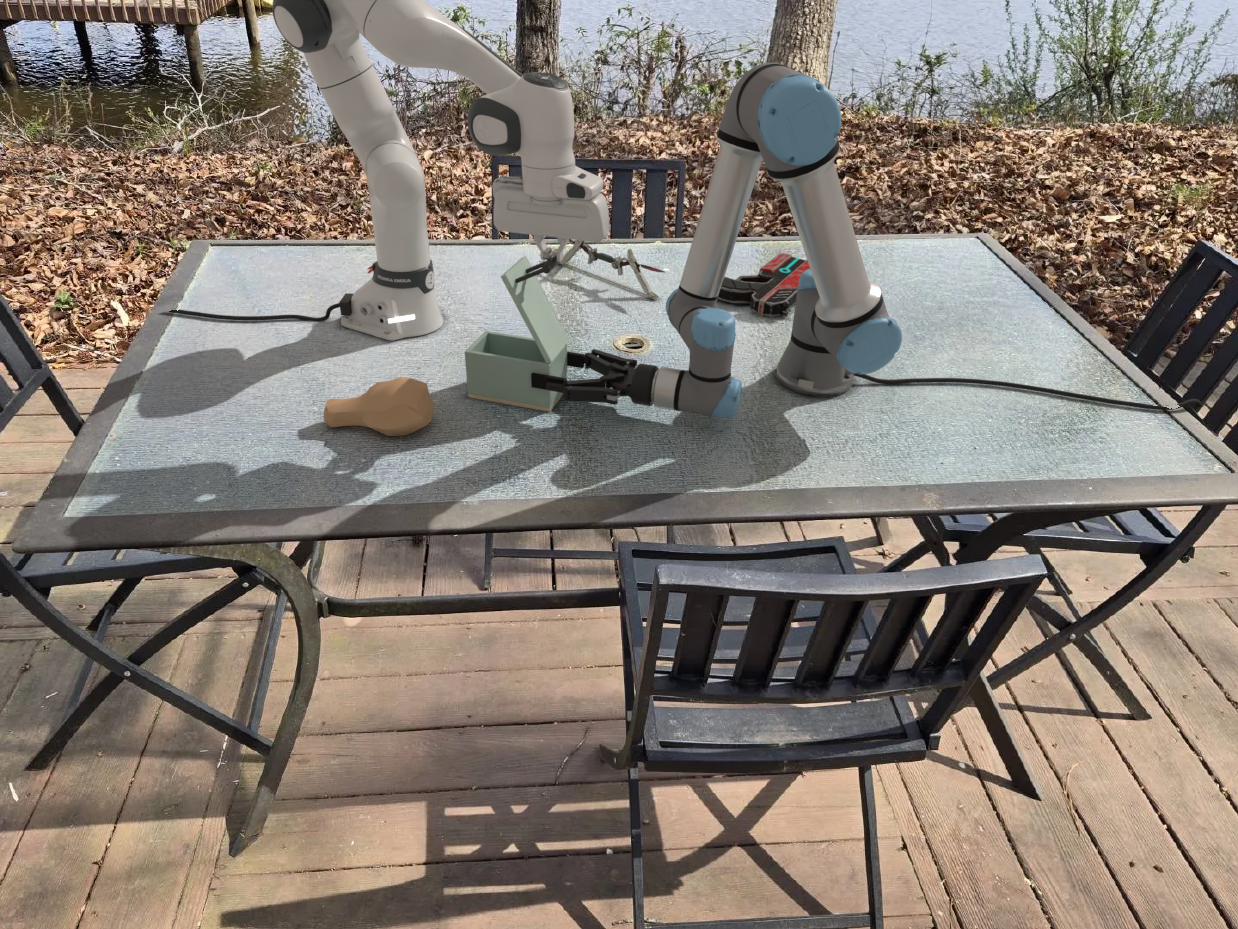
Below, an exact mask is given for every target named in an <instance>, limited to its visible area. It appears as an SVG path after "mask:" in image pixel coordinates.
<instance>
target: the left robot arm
mask: <svg viewBox="0 0 1238 929" xmlns="http://www.w3.org/2000/svg"><path fill="white" fill-rule="evenodd" d="M272 17H273V20H274V23H275V26H276V27H277V29H278V31H279V33H280V34H281V36H282V37H283V39H284V41H286V42H287V43H288V44H289V45H290V46H291V47H292V48H294V49H296V50H297V51H299V52H300V53H303V56H304V58H305V61H306V63H307V66H308V69H309V70H310V72H311V75H312V77H313V79H314V81H315V83H316V86H317V87H318V89H319V91H320V93H321V95H322V97H323V98H324V101H325V102H326V104H327V106H328V109H329V110H330V112H331V115H332V116H333V118H334V120H335V121H336V123H337V125H338V127H339V129H340V130H341V132H342V134H343V135H344V137H345V139H346V140H347V142H348V144H349V145H350V147H351V148H352V150H353V152H354V154H355V155H356V157H357V159H358V161H359V162H360V165H361V166H362V169H363V171H364V174H365V177H366V183H367V189H368V196H369V197H368V198H369V204H370V214H371V221H372V222H371V223H372V230H373V238H374V245H375V246H374V247H375V253H376V254H375V255H376V261H374V262H373V263H372V265H371V266H369V267H368V268H367V274H370V273H372V277H371V278H370V279H369V280H367V282H365V283H364V284H363V285H362V286H360V287H359V288H358V289H356V290H355V292H354V293H347V292H345V293H344V295H343V296H342V298H341V299H340V301H338V303H334V304H332V305H330V306H329V307H328V308H327V309H326V311H325V315H324V316H321V317H312V316H307V315H301V314H276V315H274V314H273V315H225V314H214V313H208V312H201V311H193V310H187V309H186V310H185V309H179V310H178V311H177V310H171V311H169V312H168V313H171V314H179V315H185V316H193V317H201V318H207V319H215V320H225V321H227V320H228V321H274V320H276V321H277V320H302V321H307V322H324V321H327V320H329V319H330V317H331V313H332V311H333V310H335V309H339V311H340V316H342V317H341V320H340V324H341V326H342V327H344V328H347V329H350V330H354V331H357V332H360V333H364V334H367V335H370V336H373V337H377V338H380V339H383V340H387V341H396V340H397V341H398V340H401V339H404V338H412V337H420V336H423V335H427V334H430V333H431V334H432V333H434V332H436V331H437V330H439V329H441V327H442V326H443V325H444V323H445V320H444V317H443V314H442V312H441V310H440V307H439V303H438V300H437V296H436V291H435V271H434V264H433V260H432V259H431V253H430V243H429V232H428V217H427V215H428V212H427V194H426V192H427V191H426V180H425V178H426V177H425V173H424V170H423V167H422V165H421V162H420V160H419V158H418V155H417V153H416V150H415V149H414V147H413V145H412V142H411V140H410V139H409V136H408V134H407V132H406V130H405V128H404V127H403V124H402V122H401V120H400V118H399V116H398V114H397V112H396V110H395V108H394V105H393V104H392V102H391V100H390V97H389V95H388V93H387V92H386V89H385V87H384V85H383V83H382V81H381V79H380V77H379V75H378V73H377V71H376V69H375V66H374V64H373V62H372V61H371V58H370V57H369V54H368V52H367V50H366V49H365V47H364V46H363V43H362V41H361V38H360V35H361V36H362V37H363V38H364V39H365V40H366V41H367V42H369V44H370V45H372V47H373V48H375V50H377V51H378V52H379V53H380V54H381V55H383V56H384V57H386V58H387V59H389V60H390V61H391V62H394V63H395V64H396V65H399V66H401V67H406V68H417V69H418V68H420V69H437V70H444V71H449V72H453V73H456V74H459V75H461V76H462V77H465V78H466V79H467V80H469V81H470V82H471V83H473V84H474V85H475V86H476V87H477V88H479V89H480V90H481V91H482V92H484V93H485V94H484V95H482V96H481V97H479V98H476V99H475V100H474V101H473V102H472V103H471V105H470V106H469V109H468V113H467V129H468V130H467V131H468V133H469V136H470V138H471V140H472V142H473V144H474V145H475V146H476V147H477V148H478V149H479V150H480V151H481V152H482V153H484V154H486V155H488V156H507V155H514V154H515V155H518V156H519V157H520V160H521V176H508V175H499V177H497V178H495V179H494V180H493V182H492V185H491V186H492V196H493V198H494V201H493V226H494V227H495V228H496V230H497V231H498V232H503V233H514V234H522V235H523V234H524V235H532V236H533V242H534V243H535V245H536V246H537V248H538V250H539V251H540V260H542V261H547V260H550V259H552V261H557V262H561V261H562V260H563V257H564V250H565V248H566V246H567V245H568V243H569V239H571V240H574V241H576V240H583V241H584V242H585V241H586V242H594V243H601V242H602V241H604V239H605V238H607V237H608V235H609V233H610V212H609V207H608V202H607V199H606V197H605V195H604V194H603V193H601V192H602V190H603V189H604V179H603V178H602V177H601V176H598V175H596V174H594V173H592V172H590V171H587V170H584V169H583V168H580V167H579V166H577V165H576V158H575V157H576V156H575V154H574V150H573V143H574V139H575V138H574V137H575V133H576V132H575V112H574V103H573V96H572V92H571V89H570V87H569V85H568V83H567V81H566V80H564V79H563V78H562V77H561V76H558V75H556V74H553V73H549V72H540V71H531V72H527V73H524V74H523V73H522V72H520V71H519V70H517V69H516V68H515V67H513V65H511V64H510V63H509V62H508V61H506V60H505V59H503V58H502V57H501V56H500V55H499V54H497V52H496V51H493V49H492V48H490V47H488V46H487V44H485V43H484V42H482V41H481V40H480V39H478V38H477V37H476V36H474V35H473V34H472V33H470V32H469V31H468V30H467V29H465V28H463V27H462V26H460V25H459V24H457V23H455V22H454V21H453V20H452V19H450V18H448V17H447V16H445V15H444V14H442V13H441V12H440V11H438V10H437V9H436V8H435V7H433V6H432V5H431V4H430V3H428V2H427V1H426V0H272ZM546 237H550V238H556V242H557V244H559V246H558V248H554V249H553V248H552V247H548V245H547V243H546V241H545V240H544V239H545V238H546Z"/></svg>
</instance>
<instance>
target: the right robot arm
mask: <svg viewBox="0 0 1238 929" xmlns="http://www.w3.org/2000/svg"><path fill="white" fill-rule="evenodd" d="M832 92H833V91H831V90H830V89H829V88H828V87H827V86H825V84H824V83H823V82H822V81H820V80H819V79H817V78H816V77H813V76H812V75H808V74H804V73H801V72H800V71H798V70H795V69H792V67H790V66H788V65H786V64H783V63H780V62H764V63H760V64H757V65H756V66H753V67H751V68H750V69H748V70H747V71H745V73H744V74H743V75H742V76H741V77H740V78H739V79H738V81H737V82H736V83H735V85H734V87H733V89H732V91H731V92H730V94H729V97H728V100H727V102H726V105H725V107H724V111H723V114H722V117H721V120H720V124H719V127H718V130H717V134H716V136H715V137H716V140H717V143H718V145H719V147H718V148H719V149H718V151H717V155H716V159H715V163H714V166H713V169H712V172H711V175H710V180H709V182H708V187H707V189H706V193H705V196H704V200H703V204H702V207H701V210H700V213H699V217H698V220H697V224H696V228H695V231H694V233H693V237H692V241H691V245H690V248H689V251H688V255H687V258H686V262H685V265H684V268H683V273H682V275H681V277H680V278H681V279H680V282H679V286H678V287H677V288H675V290H673V291H672V292H671V294H669V296H667V299H666V302H665V312H666V314H667V318H668V320H669V322H670V324H671V326H672V327H673V328H674V329H675V330H676V332H677V333H678V335H679V336H680V338H681V339H682V341H683V342H684V344H685V345H686V347H687V349H688V350H689V360H688V361H689V362H688V363H689V365H688V370H686V369H685V370H684V369H681V368H673V367H666V366H661V367H660V368H659V367H658V366H657V365H654V364H647V363H639V364H638V360H637V359H633V358H625V357H623V356H619V355H616V354H613V353H609V352H606V351H603V350H599V349H595V348H593V349H591V352H586V353H579V352H573V351H568V350H567V367H572V368H579V369H585V370H589V369H590V370H592V371H594V372H596V373H599V374H600V375H601V376H600V377H599V378H589V379H588V378H587V379H575V380H568V377H567V378H562V377H556V376H550V375H544V374H538V373H532V374H531V387H533V388H539V389H545V390H549V391H555V392H561V393H563V401H565V402H578V403H579V402H580V403H581V402H583V403H605V404H610V405H614V406H615V405H617V404H618V403H619V398H620V397H629V398H630V399H631V402H632V403H633V404H635V405H639V406H647V407H651V406H654V408H657V409H658V408H659V409H666V410H668V411H677V412H681V413H687V414H693V415H698V416H703V417H708V418H710V419H720V420H723V419H725V420H726V419H727V420H730V419H731V420H732V419H734V418H735V416H736V415H737V413H738V410H739V408H740V407H739V406H740V402H741V397H742V391H743V390H742V386H743V384H742V381H741V380H740V379H739V378H736V377H733V376H732V362H733V356H734V348H735V347H734V346H735V341H736V336H737V334H736V318H735V316H734V315H733V314H732V313H731V312H730V311H726V310H724V309H722V308H717V307H716V306H717V303H718V300H719V299H718V295H719V292H720V288H721V285H722V282H723V279H724V276H725V275H726V273H727V269H728V267H729V264H730V261H731V257H732V254H733V251H734V249H735V245H736V243H737V240H738V236H739V233H740V230H741V227H742V224H743V221H744V217H745V215H746V211H747V208H748V205H749V203H750V200H751V196H752V193H753V190H754V186H755V184H756V182H757V178H758V174H759V172H760V169H761V167H762V166H761V165H762V162H763V164H764V167H765V169H766V173H767V175H768V177H769V178H770V179H771V180H774V181H776V182H780V184H781V187H782V189H783V192H784V195H785V198H786V200H787V204H788V207H789V210H790V212H791V216H792V219H793V222H794V225H795V227H796V230H797V233H798V237H799V239H800V243H801V246H802V248H803V252H804V255H805V257H806V260H808V263H809V266H810V269H808V270H806V271H804V272H803V273H802V274H801V276H800V280H799V284H798V287H797V289H798V290H797V297H796V303H795V304H794V312H793V320H792V325H791V326H792V327H791V335H790V339H789V343H788V344H787V346H786V348H785V350H784V352H783V354H782V356H781V358H779V361H778V363H777V367H776V374H775V376H776V379H777V381H778V382H779V383H780V384H781V385H782V386H783V387H785V388H786V389H788V390H790V391H793V392H795V393H798V394H801V395H805V396H811V397H823V398H824V397H834V396H838V395H841V394H844V393H846V392H847V391H849V390H851V388H852V386H853V382H854V377H856V378H857V377H858V378H861V379H865V380H866V381H870V382H872V383H876V384H883V385H899V384H900V385H901V384H916V383H917V384H920V383H921V384H923V383H927V384H928V383H957V384H958V383H959V384H961V383H962V384H978V385H987V386H988V385H989V386H996V387H997V386H998V387H1008V388H1016V389H1022V390H1028V391H1033V392H1041V393H1046V394H1052V395H1056V396H1057V395H1058V396H1062V397H1063V396H1064V397H1069V398H1074V399H1081V400H1087V401H1093V402H1099V403H1104V404H1110V405H1116V406H1117V405H1118V406H1124V407H1125V406H1126V407H1132V408H1139V409H1147V410H1157V411H1173V410H1177V409H1181V408H1184V407H1187V406H1188V405H1192V404H1195V406H1197V407H1199V408H1204V405H1203V403H1202V402H1201V401H1200V400H1199V399H1196V398H1190V399H1187V400H1184V401H1182V402H1179V403H1176V404H1177V405H1179V406H1180V407H1178V408H1176V409H1172V408H1171V409H1169V408H1167V407H1160V406H1153V405H1154V404H1149V403H1142V402H1135V401H1129V400H1128V401H1127V400H1120V399H1113V398H1106V397H1100V396H1095V395H1088V394H1082V393H1075V392H1071V391H1066V390H1059V389H1053V388H1048V387H1043V386H1035V385H1028V384H1023V383H1017V382H1008V381H1001V380H1000V381H999V380H991V379H981V378H980V379H979V378H963V377H962V378H961V377H921V378H920V377H918V378H915V377H914V378H913V377H912V378H897V379H884V378H877V377H874V376H871V375H869V374H872V373H876V372H878V371H879V370H881V369H883V368H884V367H886V366H887V365H888V364H889V363H890V362H891V361H892V360H893V359H894V358H895V355H896V354H897V353H898V352H899V351H900V348H901V345H902V341H903V333H902V332H903V331H902V330H901V327H900V325H899V323H898V322H897V320H896V319H895V318H893V317H891V316H890V314H889V313H888V310H887V307H886V303H885V300H884V297H883V293H882V289H881V287H880V286H879V285H878V284H877V283H876V282H873V281H871V280H869V278H868V277H869V276H868V275H867V271H866V268H865V264H864V260H863V257H862V254H861V251H860V246H859V243H858V240H857V236H856V233H855V230H854V226H853V222H852V220H851V216H850V212H849V209H848V206H847V201H846V199H845V195H844V192H843V188H842V184H841V182H840V178H839V174H838V170H837V168H836V165H835V160H836V159H837V157H838V155H839V154H840V150H841V145H840V142H839V138H838V135H839V134H840V132H841V128H842V113H841V107H840V105H839V102H838V99H837V98H836V96H835V94H834V93H832ZM725 277H726V276H725Z"/></svg>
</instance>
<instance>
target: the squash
mask: <svg viewBox="0 0 1238 929" xmlns="http://www.w3.org/2000/svg"><path fill="white" fill-rule="evenodd" d="M434 412H435V402H434V401H433V399H432V397H431V394H430V391H429V387H428V384H427V382H424V381H422V380H421V381H420V380H418V379H415V378H412V377H406V376H399V377H396V378H393V379H390V380H385V381H384V380H383V381H379V382H375V384H373V385H372V386H370V387H369V388H368V390H366V392H364V393H363V394H360V395H359V396H357V397H349V398H347V397H346V398H330V399H326V401H325V406H324V410H323V421H324V423H326V425H328V426H329V428H338V427H349V426H361V427H366V428H371V430H372V429H373V430H374V431H376V432H377V433H380V434H382V435H385V436H387V437H400V436H401V437H402V436H403V437H404V436H409V435H412V434H413V433H415V432H417V431H419V430H421V429H423V428H425V427H427V426H428V425H429V424H430V423H431V422H432V420H433V418H434Z"/></svg>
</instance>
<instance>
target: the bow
mask: <svg viewBox="0 0 1238 929" xmlns="http://www.w3.org/2000/svg"><path fill="white" fill-rule="evenodd" d="M568 243H572V244H573V246H572V248H570V249H569V250H568V251H567V252H566V253H565V254H564V255H563V260H562V261H561V262H560V263H559V264H560V265H565V266H567V267H570V268H573V269H576V270H578V271H581V272H583V273H586V274H589V275H591V276H594V277H596V278H599V279H601V280H604V281H607V282H610V283H613V284H615V285H618V286H621V287H622V288H626V289H628V290H631V291H634V292H636V293H639V294H641V295H644V296H646V297H647V298H649V299H652V300H656V299H658V298H659V295H657V294H656V293H655V292H653V290H652V289H651V287H650V284H649V282H648V280H647V278H646V277H645V275H644V274H643V272H642V270H641V268H642V269H645V270H648V271H651V272H656V273H662V274H663V273H666V271H664V270H661V269H659V268H657V267H654V266H651V265H646V264H643V263H641V264H640V263H639V262H638V260H637V258H636V257H635V255H634V252H633V249H632V248H628V249H627V252H626V254H627V256H626V257H621V256H616V257H613V256H612V255H610V254H607V253H605V252H598V248H597V247H595V248H592V246H590V244H587V243H585V241H583V240H573V239H569V241H568ZM581 249H582V251H583V252H584V253H586V255H588V258H587V265H591V264H594V262H596V261H598V260H601V261H603V262H605V263H609V264H611V268H613V269H614V270H617V276H624V268H623V267H626V266H630V268H631V269H632V271H633V273H634V275H635V278H636V280H637V281H638V283H639V284H640V287H641V289H642V290H643V292H644V293H643V292H641V291H638V290H637V289H636V290H635V289H634V288H633V289H632V288H630V287H628V286H624V285H622V284H619V283H617V282H615V281H612V280H609V279H606V278H604V277H602V276H599V275H596V274H593V273H590V272H588V271H585V270H582V269H580V268H577V267H574V266H572V265H569V264H566V263H568V262H570V261H571V260H572V258H573V257H574V256H575V255H576V254H577V253H578V252H579V251H580V250H581ZM559 264H558V265H559Z"/></svg>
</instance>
